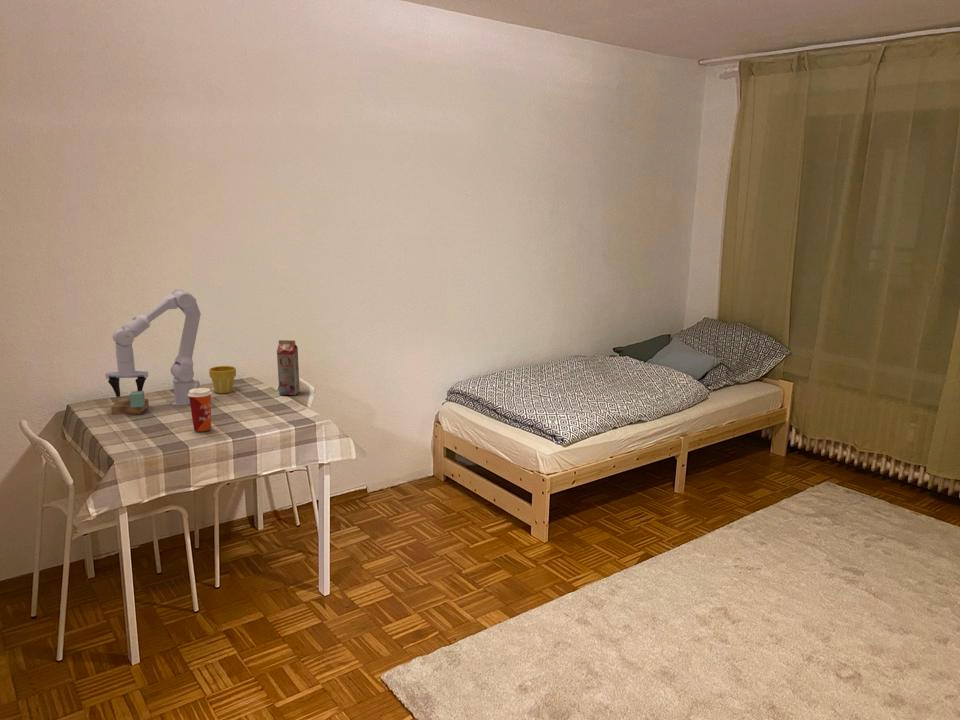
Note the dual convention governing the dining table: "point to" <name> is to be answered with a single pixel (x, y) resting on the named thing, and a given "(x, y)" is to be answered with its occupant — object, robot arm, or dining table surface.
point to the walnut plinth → (127, 407)
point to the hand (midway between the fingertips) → (129, 396)
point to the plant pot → (222, 378)
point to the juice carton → (288, 367)
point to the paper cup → (200, 408)
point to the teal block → (137, 399)
